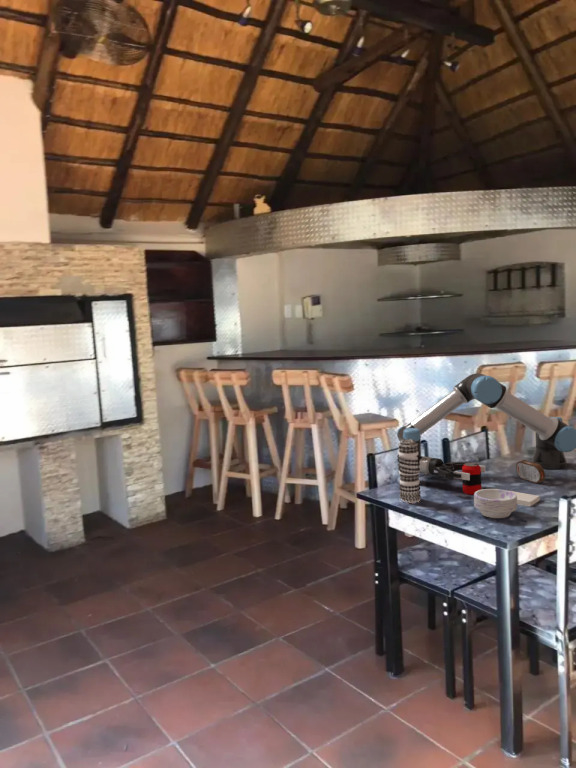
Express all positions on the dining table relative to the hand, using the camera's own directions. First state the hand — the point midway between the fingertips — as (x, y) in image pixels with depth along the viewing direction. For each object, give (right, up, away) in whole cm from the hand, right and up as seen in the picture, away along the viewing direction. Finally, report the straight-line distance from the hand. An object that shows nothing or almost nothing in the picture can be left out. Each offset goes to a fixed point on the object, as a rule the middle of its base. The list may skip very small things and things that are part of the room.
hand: (477, 473), depth 253 cm
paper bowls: (-1, -12, -25) cm, 28 cm away
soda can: (-1, -9, +3) cm, 9 cm away
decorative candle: (-28, -11, -3) cm, 30 cm away
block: (+8, -8, -6) cm, 13 cm away
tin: (+27, -6, +14) cm, 31 cm away
